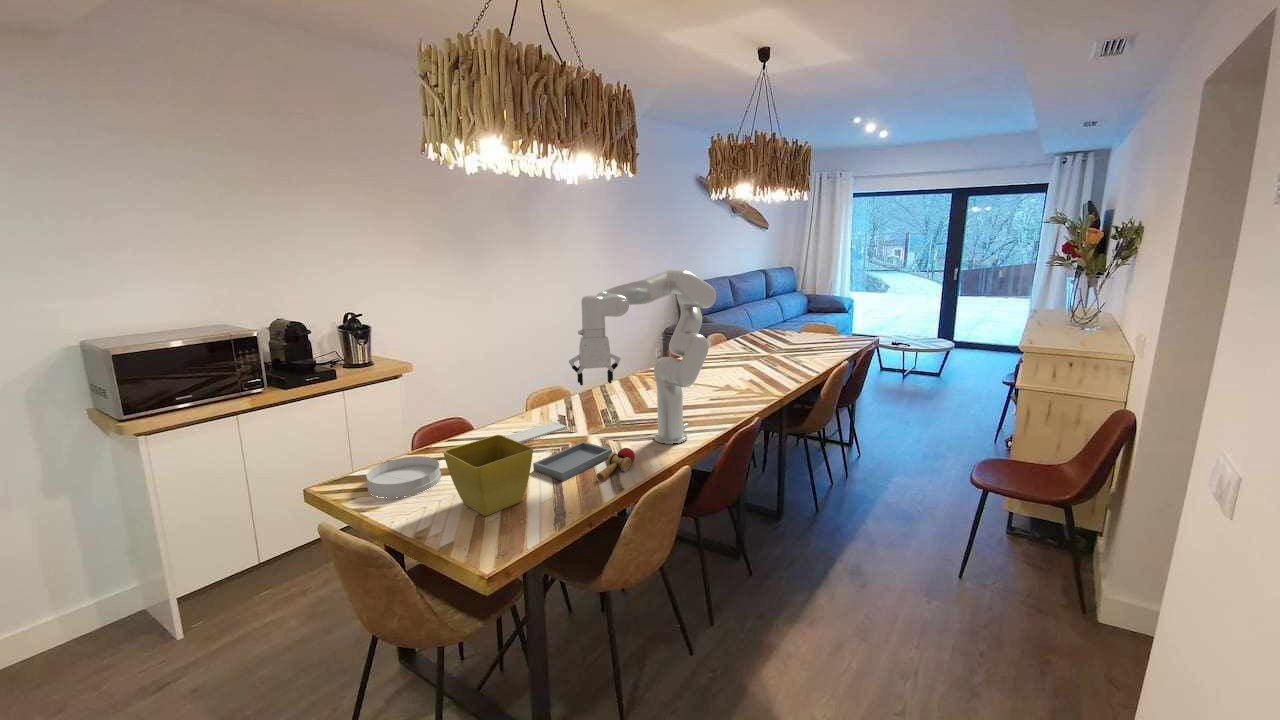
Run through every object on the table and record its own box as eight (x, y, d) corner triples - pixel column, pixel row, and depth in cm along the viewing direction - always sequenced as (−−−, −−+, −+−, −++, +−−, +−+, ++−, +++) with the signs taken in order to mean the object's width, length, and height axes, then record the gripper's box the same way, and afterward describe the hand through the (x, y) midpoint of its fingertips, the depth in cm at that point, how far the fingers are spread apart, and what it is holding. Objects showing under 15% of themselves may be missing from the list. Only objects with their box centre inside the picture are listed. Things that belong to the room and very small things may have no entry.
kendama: (613, 488, 176) (642, 460, 190) (607, 470, 174) (637, 443, 189) (594, 486, 180) (624, 460, 194) (588, 469, 179) (619, 443, 193)
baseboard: (484, 443, 215) (500, 451, 206) (483, 436, 214) (499, 444, 206) (549, 423, 236) (567, 429, 227) (549, 416, 235) (566, 423, 227)
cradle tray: (583, 448, 205) (582, 441, 204) (612, 456, 197) (611, 449, 196) (533, 471, 187) (533, 463, 186) (563, 481, 178) (562, 473, 178)
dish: (455, 475, 186) (454, 461, 185) (404, 504, 166) (402, 489, 165) (406, 465, 195) (404, 452, 194) (351, 492, 175) (349, 478, 174)
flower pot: (503, 482, 179) (498, 433, 175) (538, 500, 166) (534, 447, 162) (447, 504, 165) (441, 451, 162) (481, 525, 153) (475, 468, 149)
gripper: (569, 336, 178) (571, 388, 182) (621, 333, 182) (622, 384, 186) (566, 332, 185) (568, 382, 189) (617, 330, 189) (618, 379, 193)
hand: (595, 383), depth 187 cm, fingers open, 9 cm apart
